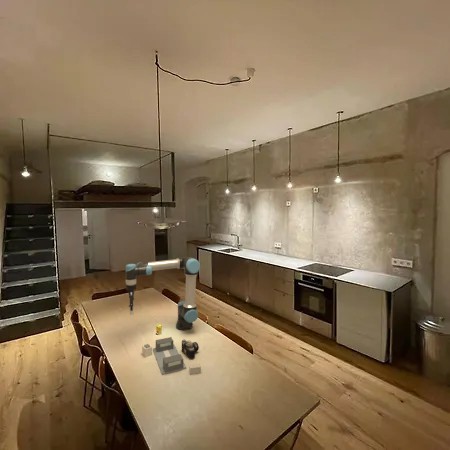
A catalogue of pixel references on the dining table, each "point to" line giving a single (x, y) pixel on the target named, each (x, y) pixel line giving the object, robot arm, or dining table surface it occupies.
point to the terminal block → (194, 369)
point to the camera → (189, 348)
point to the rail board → (168, 356)
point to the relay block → (147, 350)
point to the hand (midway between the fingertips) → (131, 311)
